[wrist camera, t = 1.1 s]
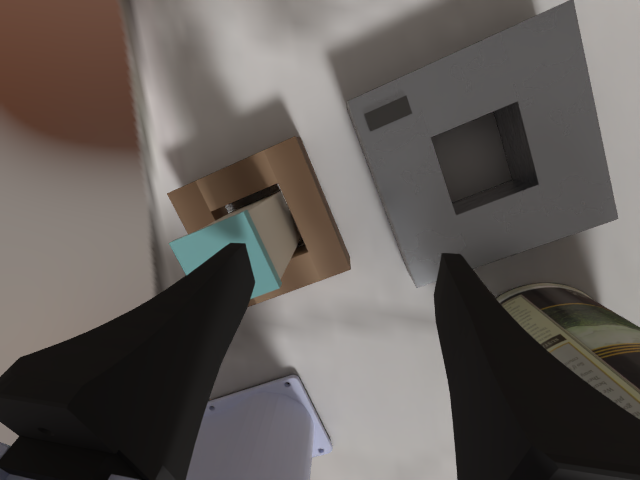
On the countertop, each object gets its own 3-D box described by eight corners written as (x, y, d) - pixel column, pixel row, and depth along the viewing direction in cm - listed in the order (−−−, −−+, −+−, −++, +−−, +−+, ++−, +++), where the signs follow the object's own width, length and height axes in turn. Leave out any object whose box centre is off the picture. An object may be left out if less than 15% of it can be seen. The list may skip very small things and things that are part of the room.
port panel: (407, 271, 24) (417, 289, 20) (346, 108, 21) (347, 100, 18) (581, 209, 22) (622, 219, 18) (538, 21, 19) (577, -5, 16)
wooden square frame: (240, 298, 25) (229, 313, 23) (185, 189, 23) (166, 193, 21) (349, 257, 24) (350, 269, 21) (300, 137, 22) (295, 136, 19)
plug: (256, 256, 24) (207, 314, 15) (233, 209, 23) (168, 243, 15) (303, 237, 24) (279, 288, 15) (281, 189, 23) (243, 211, 14)
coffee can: (587, 258, 23) (958, 421, 9) (622, 376, 25) (965, 651, 11) (443, 312, 24) (570, 516, 11) (488, 418, 26) (641, 699, 13)
